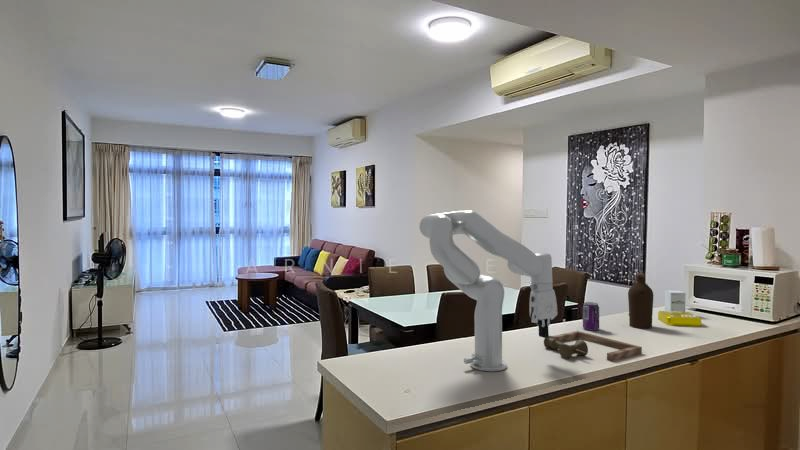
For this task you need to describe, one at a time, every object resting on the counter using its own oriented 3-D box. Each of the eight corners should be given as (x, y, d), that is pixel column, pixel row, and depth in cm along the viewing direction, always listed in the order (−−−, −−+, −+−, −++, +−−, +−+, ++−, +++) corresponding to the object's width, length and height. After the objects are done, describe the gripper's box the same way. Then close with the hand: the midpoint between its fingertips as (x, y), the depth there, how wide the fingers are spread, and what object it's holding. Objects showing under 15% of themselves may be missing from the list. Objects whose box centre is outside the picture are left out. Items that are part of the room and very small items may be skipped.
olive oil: (658, 328, 211) (658, 274, 211) (638, 329, 209) (638, 275, 209) (643, 323, 221) (642, 272, 221) (623, 324, 220) (623, 272, 219)
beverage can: (600, 331, 207) (600, 305, 207) (584, 330, 208) (584, 304, 208) (597, 327, 214) (597, 302, 214) (581, 327, 215) (581, 301, 215)
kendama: (557, 347, 185) (596, 359, 167) (538, 350, 181) (576, 364, 163) (556, 332, 185) (595, 343, 167) (537, 335, 181) (575, 347, 163)
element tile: (689, 320, 228) (689, 311, 228) (703, 327, 214) (703, 317, 214) (656, 319, 231) (656, 309, 231) (667, 326, 217) (667, 316, 217)
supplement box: (670, 316, 236) (670, 292, 236) (664, 313, 243) (664, 290, 243) (685, 317, 235) (685, 292, 234) (679, 313, 242) (679, 290, 242)
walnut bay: (611, 361, 164) (611, 354, 164) (548, 342, 189) (548, 336, 189) (641, 353, 173) (641, 346, 173) (577, 336, 198) (577, 330, 198)
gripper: (535, 290, 159) (537, 342, 160) (564, 285, 167) (565, 335, 167) (519, 288, 166) (521, 338, 166) (548, 283, 173) (549, 331, 174)
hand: (543, 336), depth 167 cm, fingers closed
